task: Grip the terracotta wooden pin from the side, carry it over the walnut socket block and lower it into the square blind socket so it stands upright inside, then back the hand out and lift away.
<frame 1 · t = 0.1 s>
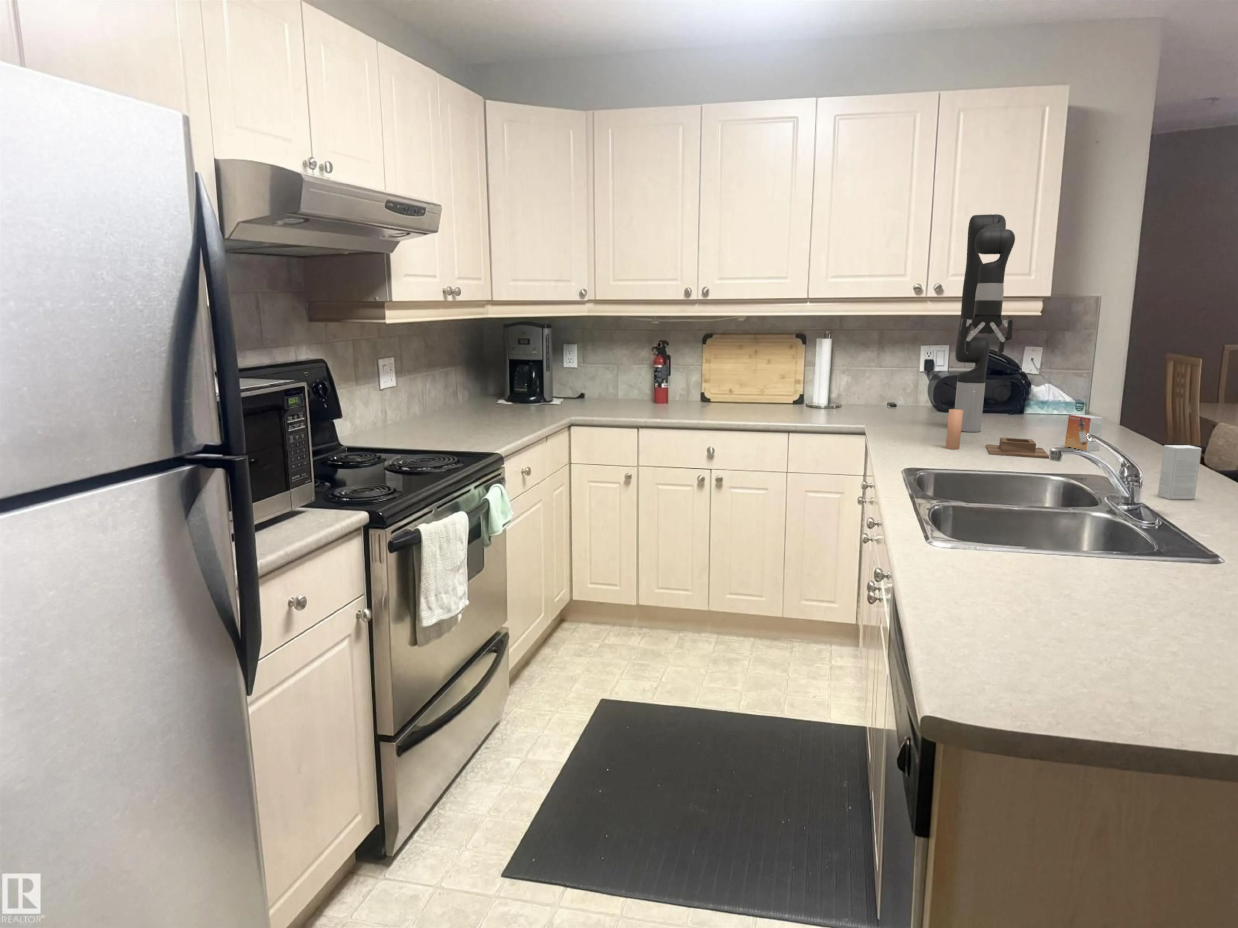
hand: (983, 354, 240), 29 cm above the counter, tool pointing down, fingers open, 8 cm apart
socket block: (1016, 452, 242), on the counter
skincare box: (1175, 498, 184), on the counter
small box: (1081, 449, 250), on the counter
pin: (952, 448, 248), on the counter
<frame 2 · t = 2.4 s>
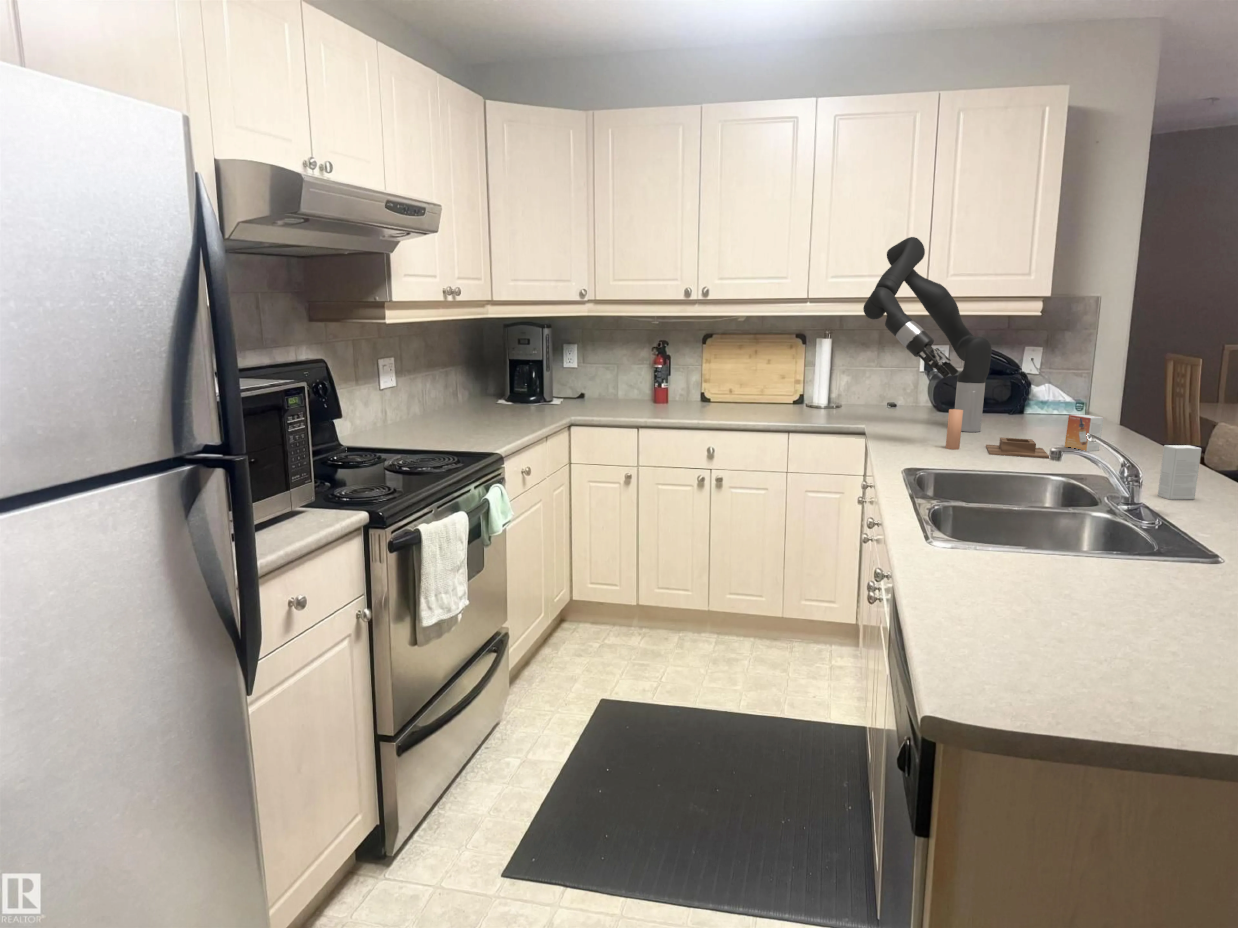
hand: (951, 374, 245), 23 cm above the counter, tool tilted 50°, fingers open, 8 cm apart
nothing on the counter moved.
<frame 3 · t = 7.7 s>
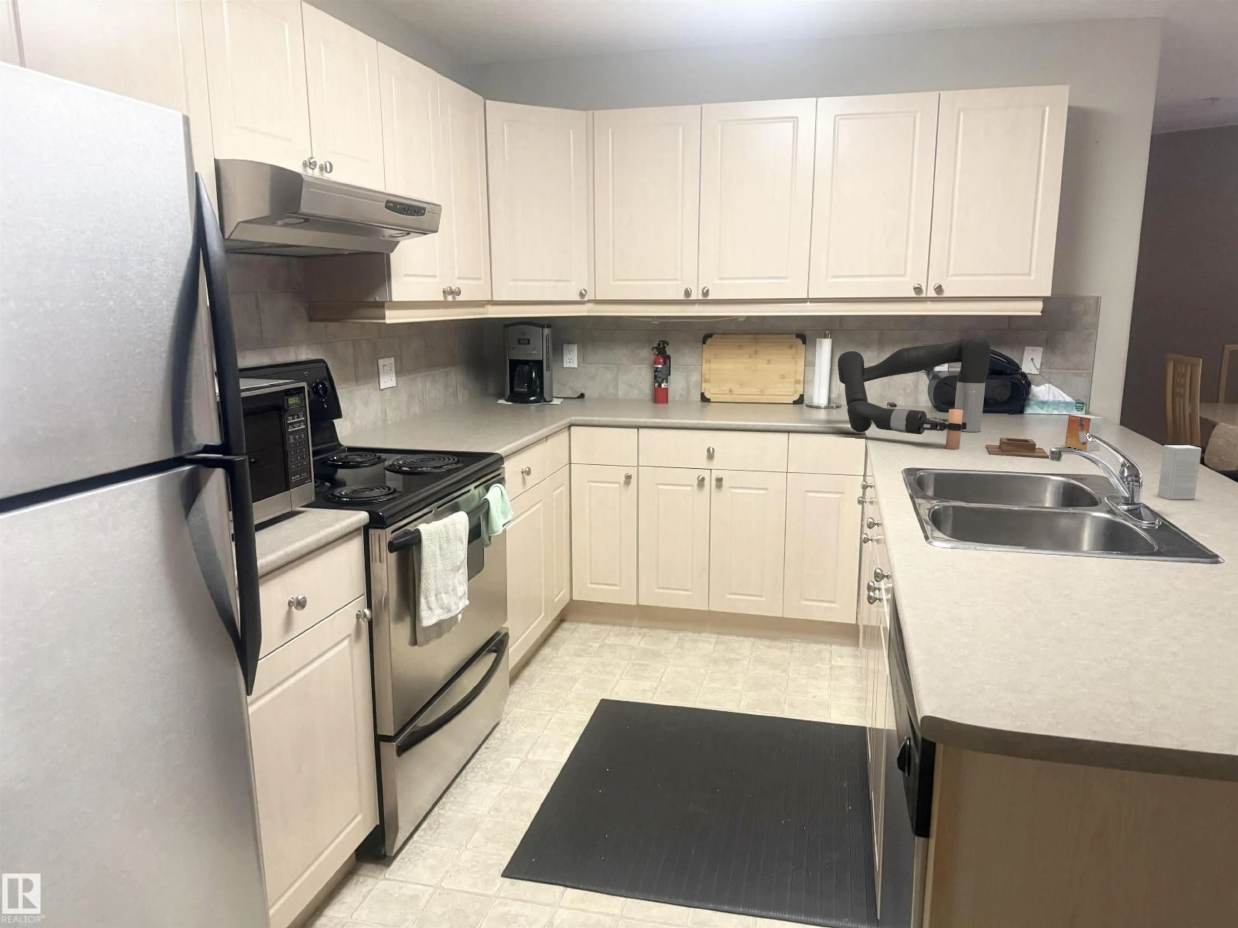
hand: (963, 426, 244), 7 cm above the counter, tool horizontal, fingers closed on pin, 4 cm apart
pin: (952, 448, 248), on the counter, touching gripper
everything else where it was.
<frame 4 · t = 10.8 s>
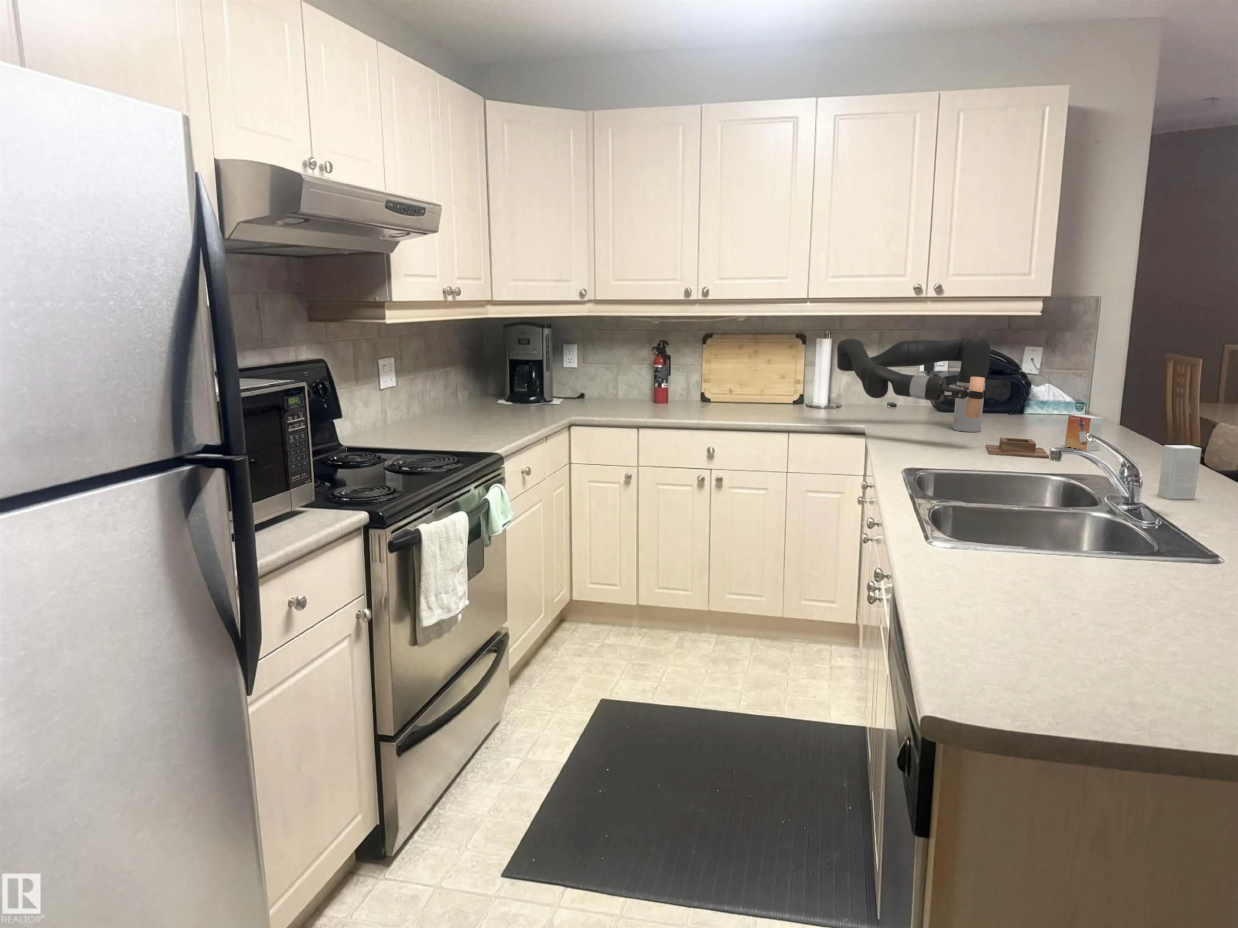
hand: (984, 395, 241), 17 cm above the counter, tool horizontal, fingers closed on pin, 4 cm apart
pin: (971, 416, 245), point 10 cm above the counter, touching gripper
everything else where it was.
when the fingers open (9 cm above the counter, at t = 13.7 s): pin drops 1 cm, resting on socket block.
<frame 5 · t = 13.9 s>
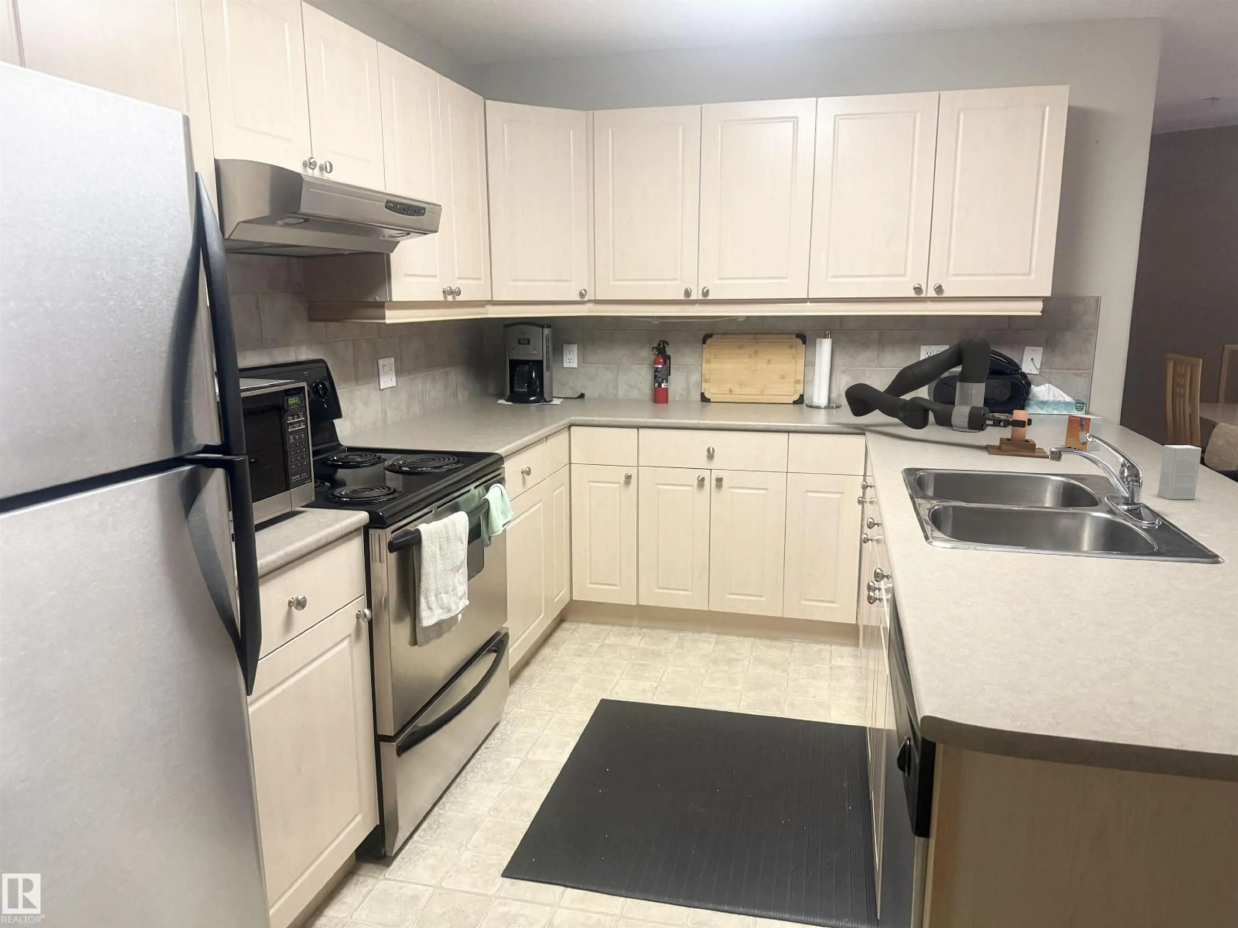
hand: (1028, 423, 239), 9 cm above the counter, tool horizontal, fingers open, 6 cm apart
pin: (1016, 450, 242), point 1 cm above the counter, touching socket block
everything else where it was.
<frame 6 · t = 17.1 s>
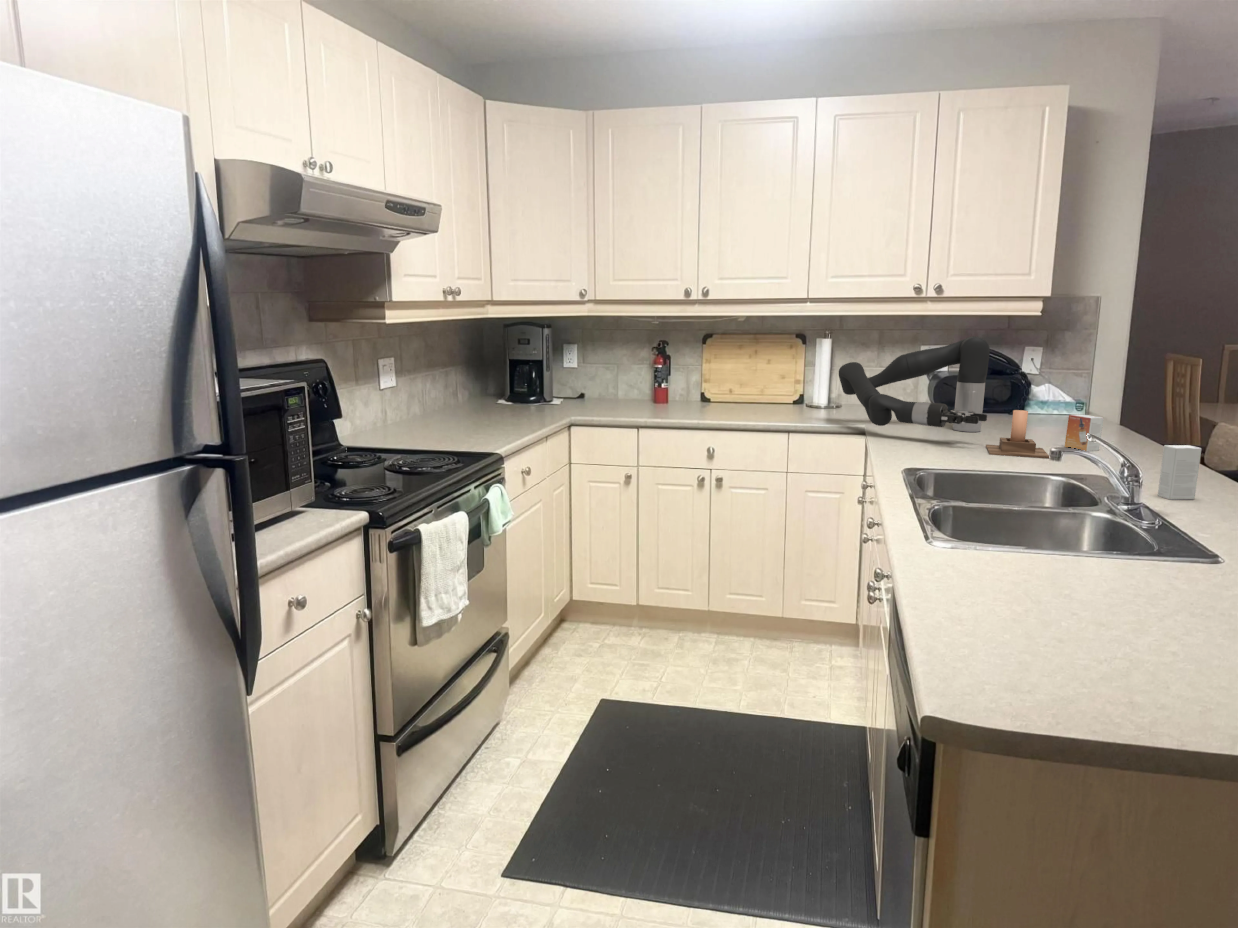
hand: (982, 419, 248), 9 cm above the counter, tool horizontal, fingers open, 8 cm apart
nothing on the counter moved.
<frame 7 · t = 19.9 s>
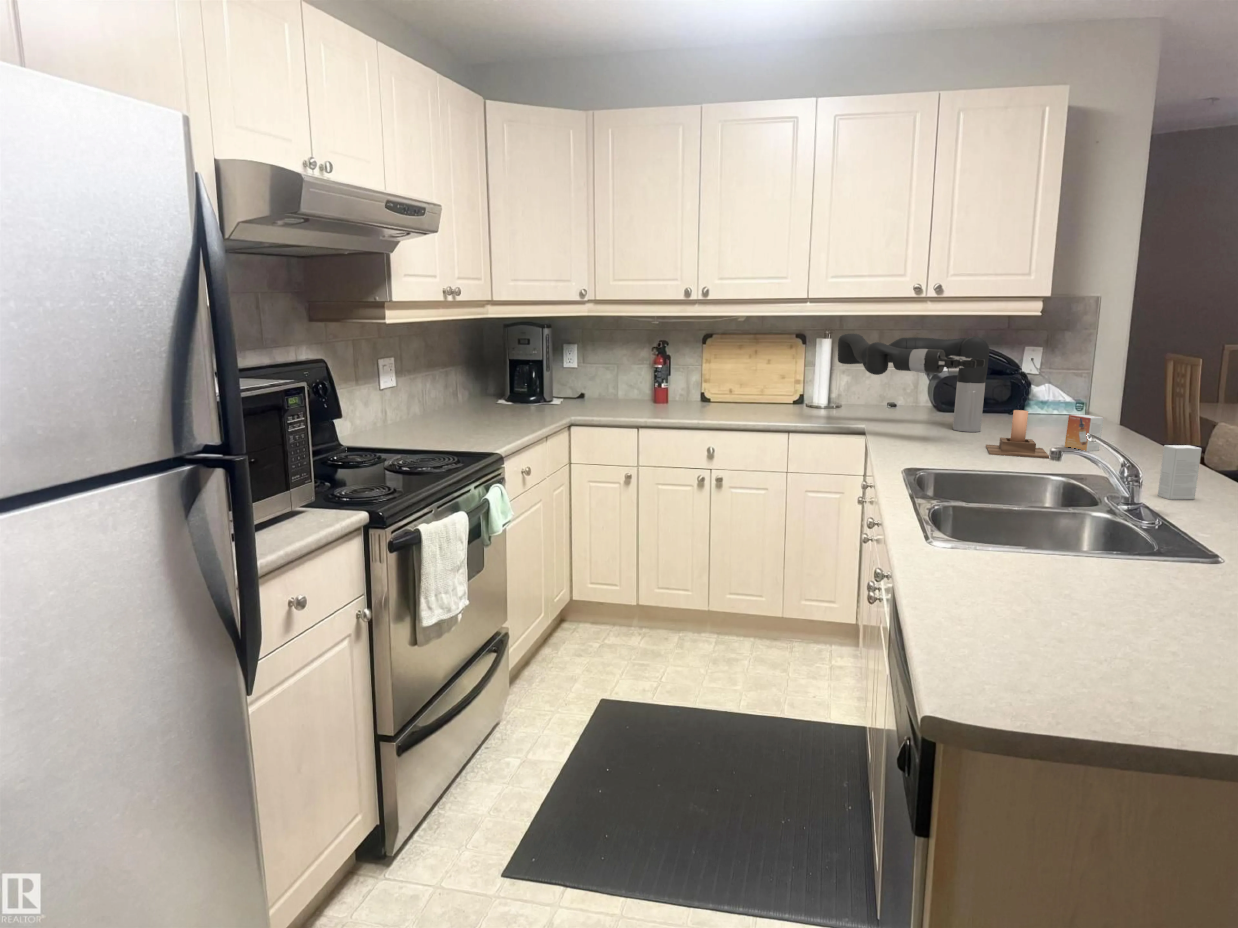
hand: (980, 363, 246), 26 cm above the counter, tool horizontal, fingers open, 8 cm apart
nothing on the counter moved.
at the end: pin 0.0 cm off-centre on the socket block, point 0.6 cm above the socket block's base; pin tilted 0°; the gripper is holding nothing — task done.
